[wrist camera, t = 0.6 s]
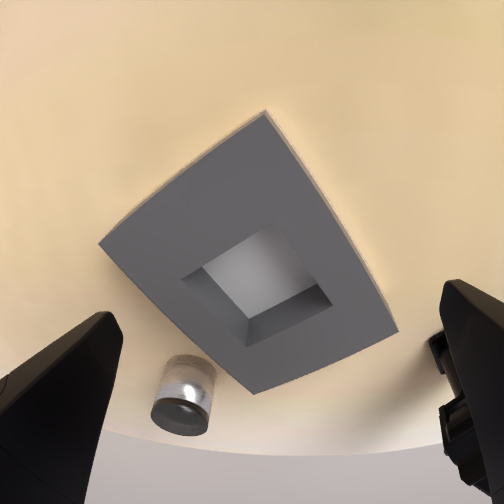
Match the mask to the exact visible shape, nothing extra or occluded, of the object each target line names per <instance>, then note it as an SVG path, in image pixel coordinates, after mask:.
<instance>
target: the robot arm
mask: <svg viewBox="0 0 504 504" xmlns="http://www.w3.org/2000/svg"><path fill="white" fill-rule="evenodd" d="M439 312H440V317H441V320H442V323H443V327H444V331H442V332H440V333H439V334H437V335H435V336H433V337H432V338H430V340H429V345H430V347H431V350H432V353H433V355H434V358H435V360H436V363H437V366H438V368H439V371H440V373H441V374H442V375H443V374H446V376H447V378H448V380H449V383H450V385H451V388H452V390H453V393H454V395H455V398H454V399H453V400H452V401H450V402H449V403H447V404H446V405H443V406H441V407H440V408H439V414H440V416H439V418H440V425H441V432H442V439H443V446H444V453H445V455H446V456H449V457H450V459H451V460H452V462H453V463H454V464H455V465H457V466H458V470H459V474H460V478H461V480H462V481H464V482H465V483H466V484H467V485H469V486H471V485H473V486H475V487H476V488H478V489H479V490H481V491H482V492H484V493H485V494H487V495H488V496H490V497H491V499H492V504H504V303H503V302H501V301H499V300H497V299H496V298H494V297H492V296H490V295H488V294H487V293H485V292H483V291H481V290H479V289H477V288H475V287H474V286H472V285H470V284H468V283H466V282H464V281H462V280H460V279H455V280H448V281H446V282H445V284H444V287H443V292H442V297H441V302H440V307H439ZM122 344H123V334H122V331H121V329H120V327H119V325H118V323H117V321H116V319H115V317H114V315H113V314H112V313H111V312H109V311H102V312H97V313H95V314H94V315H92V316H91V317H89V318H88V319H86V320H85V321H83V322H82V323H81V324H79V325H78V326H76V327H75V328H73V329H72V330H70V331H69V332H67V333H66V334H64V335H63V336H61V337H60V338H59V339H57V340H56V341H54V342H53V343H51V344H50V345H48V346H47V347H46V348H44V349H43V350H41V351H40V352H38V353H37V354H35V355H34V356H33V357H31V358H30V359H28V360H27V361H26V362H24V363H23V364H21V365H20V366H19V367H17V368H16V369H14V370H13V371H12V372H10V373H9V374H7V375H6V376H4V377H3V378H2V379H0V504H84V501H85V496H86V492H87V487H88V482H89V477H90V474H91V469H92V465H93V461H94V456H95V452H96V449H97V445H98V441H99V437H100V433H101V429H102V426H103V422H104V418H105V415H106V411H107V408H108V404H109V401H110V397H111V394H112V390H113V387H114V382H115V378H116V373H117V368H118V363H119V358H120V353H121V349H122Z"/></svg>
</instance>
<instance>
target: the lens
mask: <svg viewBox="0 0 504 504" xmlns="http://www.w3.org/2000/svg"><path fill="white" fill-rule="evenodd" d="M216 378H217V373H216V370H215V368H214V367H213V366H212V365H211V364H210V363H209V362H207V361H206V360H204V359H202V358H199V357H196V356H192V355H178V356H174V357H172V358H171V359H170V360H169V361H168V362H167V365H166V368H165V371H164V374H163V377H162V380H161V383H160V386H159V389H158V392H157V396H156V399H155V402H154V405H153V408H152V411H151V418H152V420H153V422H154V423H155V424H156V425H158V426H159V427H160V428H162V429H164V430H166V431H168V432H171V433H173V434H177V435H182V436H198V435H201V434H204V433H205V432H206V431H207V428H208V423H209V417H210V412H211V406H212V400H213V395H214V389H215V384H216Z"/></svg>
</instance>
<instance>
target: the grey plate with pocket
mask: <svg viewBox="0 0 504 504" xmlns="http://www.w3.org/2000/svg"><path fill="white" fill-rule="evenodd" d="M98 244H99V245H100V247H101V248H102V249H103V250H104V251H105V252H106V253H107V254H108V256H109V257H110V258H111V259H112V260H113V261H114V262H115V263H116V264H117V266H118V267H119V268H120V269H121V270H122V271H123V272H124V273H125V274H126V275H127V276H128V277H129V278H130V279H131V281H132V282H133V283H134V284H135V285H136V286H137V287H138V288H139V289H140V290H141V291H142V292H143V293H144V294H145V295H146V296H147V297H148V298H149V299H150V300H151V301H152V302H153V303H154V304H155V305H156V306H157V307H158V308H159V309H160V310H161V311H162V312H163V313H164V314H165V315H166V316H167V317H168V318H169V319H170V320H171V321H172V322H173V323H174V324H175V325H176V326H177V327H178V328H179V329H180V330H181V331H182V332H183V333H184V334H185V335H187V336H188V337H189V338H190V339H191V340H192V341H193V342H194V343H195V344H196V345H197V346H198V347H199V348H200V349H202V350H203V351H204V352H205V353H206V354H207V355H208V356H209V357H210V358H211V359H213V360H214V361H215V362H216V363H217V364H218V365H219V366H220V367H222V368H223V369H224V370H225V371H226V372H227V373H228V374H230V375H231V376H232V377H233V378H234V379H235V380H237V381H238V382H239V383H240V384H241V385H242V386H244V387H245V388H246V389H247V390H248V391H250V392H251V393H252V394H253V395H254V394H257V393H260V392H263V391H266V390H268V389H271V388H274V387H276V386H279V385H282V384H284V383H287V382H289V381H292V380H294V379H297V378H299V377H302V376H304V375H307V374H309V373H312V372H314V371H316V370H319V369H321V368H324V367H326V366H328V365H330V364H333V363H335V362H337V361H339V360H342V359H344V358H346V357H348V356H350V355H353V354H355V353H357V352H359V351H361V350H363V349H365V348H367V347H369V346H371V345H373V344H375V343H377V342H379V341H381V340H383V339H385V338H387V337H389V336H391V335H393V334H395V333H397V332H399V331H398V328H397V326H396V323H395V321H394V318H393V316H392V313H391V311H390V308H389V306H388V304H387V301H386V299H385V297H384V294H383V292H382V290H381V288H380V287H379V285H378V283H377V281H376V279H375V277H374V276H373V274H372V272H371V270H370V268H369V267H368V265H367V263H366V261H365V260H364V258H363V256H362V254H361V253H360V251H359V249H358V247H357V246H356V244H355V242H354V241H353V239H352V237H351V235H350V234H349V232H348V230H347V229H346V227H345V225H344V224H343V222H342V220H341V219H340V217H339V216H338V214H337V212H336V211H335V209H334V207H333V206H332V204H331V203H330V201H329V199H328V198H327V196H326V195H325V193H324V192H323V190H322V188H321V187H320V185H319V184H318V182H317V181H316V179H315V178H314V176H313V175H312V173H311V172H310V170H309V169H308V167H307V166H306V164H305V163H304V161H303V160H302V158H301V157H300V155H299V154H298V152H297V151H296V149H295V148H294V146H293V145H292V143H291V142H290V141H289V139H288V138H287V136H286V135H285V133H284V132H283V131H282V129H281V128H280V126H279V125H278V124H277V122H276V121H275V119H274V118H273V117H272V115H271V114H270V113H269V111H268V110H267V108H265V109H264V110H262V111H261V112H259V113H258V114H256V115H255V116H253V117H252V118H250V119H249V120H248V121H246V122H245V123H243V124H242V125H240V126H239V127H237V128H236V129H235V130H233V131H232V132H230V133H229V134H228V135H226V136H225V137H223V138H222V139H221V140H219V141H218V142H216V143H215V144H214V145H212V146H211V147H210V148H208V149H207V150H206V151H204V152H203V153H202V154H200V155H199V156H198V157H196V158H195V159H194V160H192V161H191V162H190V163H188V164H187V165H186V166H184V167H183V168H182V169H181V170H179V171H178V172H177V173H176V174H174V175H173V176H172V177H170V178H169V179H168V180H167V181H165V182H164V183H163V184H162V185H161V186H159V187H158V188H157V189H156V190H154V191H153V192H152V193H151V194H150V195H148V196H147V197H146V198H145V199H144V200H142V201H141V202H140V203H139V204H138V205H137V206H135V207H134V208H133V209H132V210H131V211H130V212H128V213H127V214H126V215H125V216H124V217H123V218H122V219H121V220H120V221H119V222H118V223H117V224H116V225H115V226H114V227H113V229H112V230H111V231H110V232H109V233H108V234H107V235H106V236H105V237H104V238H103V239H102V240H101V241H100V242H99V243H98Z"/></svg>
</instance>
